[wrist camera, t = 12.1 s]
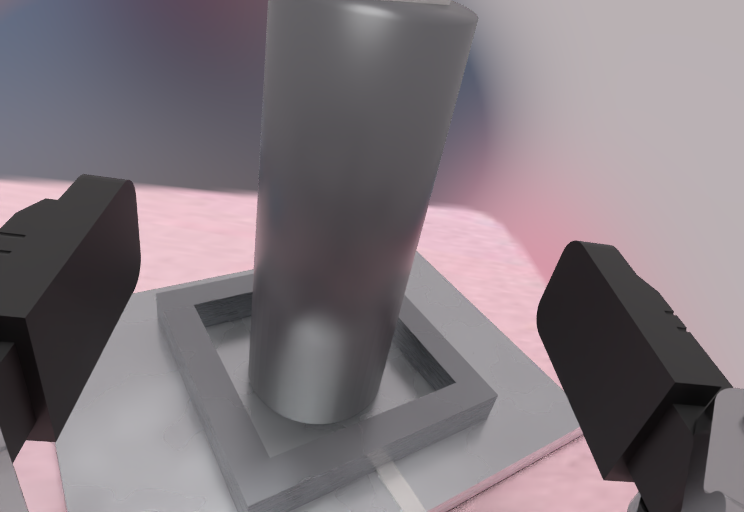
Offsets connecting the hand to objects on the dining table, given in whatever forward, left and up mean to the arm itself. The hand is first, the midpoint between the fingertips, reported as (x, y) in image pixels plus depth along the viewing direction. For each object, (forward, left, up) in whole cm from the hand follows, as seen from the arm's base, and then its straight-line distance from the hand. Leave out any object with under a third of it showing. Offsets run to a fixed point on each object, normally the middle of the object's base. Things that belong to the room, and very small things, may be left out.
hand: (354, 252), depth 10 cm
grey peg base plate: (+2, +4, -9) cm, 10 cm away
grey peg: (+2, +4, -8) cm, 10 cm away
